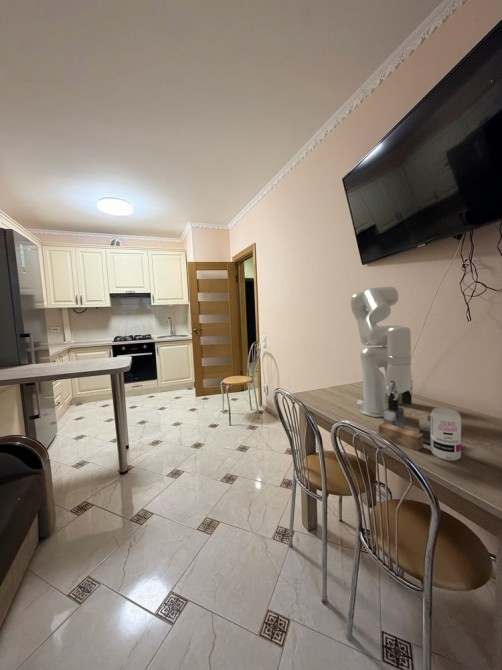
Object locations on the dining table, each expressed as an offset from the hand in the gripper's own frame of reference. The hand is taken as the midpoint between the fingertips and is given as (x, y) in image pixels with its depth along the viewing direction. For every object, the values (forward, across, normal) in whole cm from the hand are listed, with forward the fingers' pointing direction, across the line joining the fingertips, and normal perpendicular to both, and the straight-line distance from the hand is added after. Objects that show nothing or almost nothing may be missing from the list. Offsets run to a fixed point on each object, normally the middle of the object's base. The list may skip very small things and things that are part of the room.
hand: (400, 407), depth 98 cm
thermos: (+13, -41, -24) cm, 49 cm away
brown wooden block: (+14, -1, -1) cm, 14 cm away
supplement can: (+14, -3, +13) cm, 19 cm away
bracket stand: (+13, -10, -1) cm, 16 cm away
